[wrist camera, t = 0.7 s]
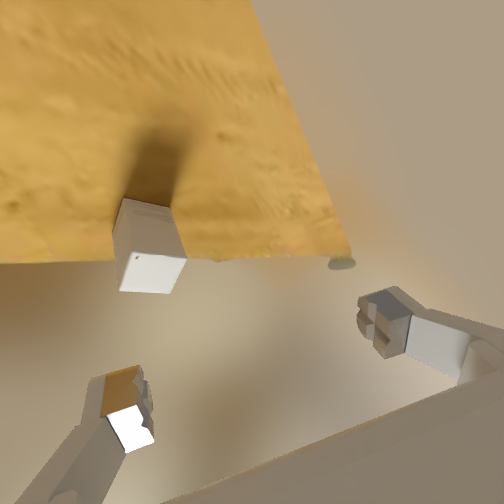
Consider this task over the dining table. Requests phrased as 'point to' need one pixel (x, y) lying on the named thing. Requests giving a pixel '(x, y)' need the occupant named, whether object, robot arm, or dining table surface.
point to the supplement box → (146, 248)
